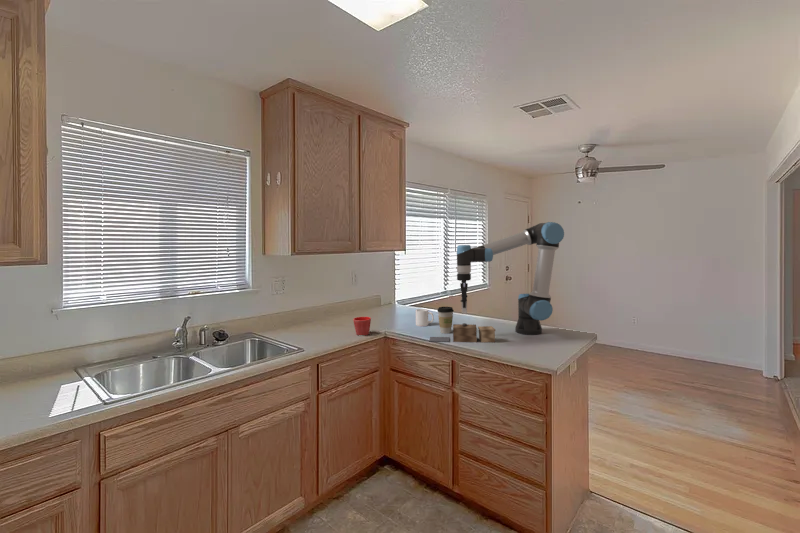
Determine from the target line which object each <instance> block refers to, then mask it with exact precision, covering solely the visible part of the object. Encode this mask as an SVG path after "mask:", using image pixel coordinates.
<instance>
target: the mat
mask: <svg viewBox="0 0 800 533" xmlns="http://www.w3.org/2000/svg"><path fill="white" fill-rule="evenodd" d="M428 342H429V343H431V342H432V343H436V342H437V343H450V336H430V337H429V341H428Z"/></svg>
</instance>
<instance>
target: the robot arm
mask: <svg viewBox="0 0 800 533" xmlns="http://www.w3.org/2000/svg"><path fill="white" fill-rule="evenodd" d="M564 237H565V230H564V228H563V226H562V225H561V224H560V223H558V222H553V221H548V222H541V223H537V224H535V225H533V226H531V227H529V228H525V229H523V230H522V231H521V232H519V233H515V234H513V235H509V236H507V237H504V238H500V239H497V240H494V241H491V242H488V243H485V244H483V245H480V246H474V247H471V245H470V244H460V245H457V247H456V267H455V270H456V272H457V274H456V280H457V281H459V282H460V281H461V283H460V284H459V287H460V291H461V299H460V302H461V314H464V315H467V314H468V295H467V294H468V286H469V285H468V283H467V281H471V280H472V274H471V272H472V264H471V263H489V262H493V259H494V255H498V254H502V253H504V252H508V251H511V250H513V249H517V248H520V247H522V246H526V245H528V246H532V245H536V247H537V249H538V251H537V257H536V258H537V259H536V265H535V272H534V277H533V283H532V284H533V286H532V291H531V292H529V293H519V294H518V298H517V303H518V304H517V305H518V308H517V310H518V314H517V315H518V319H517V321H516V325H515V326H514V327H515V333H518V334H521V335H528V336H529V335H531V336H534V335H541V334H542V333H543V327H542V324H541V322H542V321H546V320H547V319H549V318H550V317H551V316H552V314H553V312H554V310H553V308H554V307H553V306H552V304H551V299H552V296H551V295H550V287H551V279H552V272H553V266H554V261H555V254H556V251H557V250H558V249H559V248H560V247H559V246H560V243H561V242H562V241H563V239H564ZM540 321H541V322H540Z"/></svg>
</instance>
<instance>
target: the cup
mask: <svg viewBox="0 0 800 533" xmlns="http://www.w3.org/2000/svg"><path fill="white" fill-rule="evenodd" d="M429 315H431V320H429ZM434 320H435V319H434V313H433V312H431V311H429V309H428V308H418V309H417V308H416V309H415V326H417V327H420V328H421V327H423V328H424V327H428V326H429V324H431V323H433V322H434Z"/></svg>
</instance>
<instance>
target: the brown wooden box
mask: <svg viewBox="0 0 800 533" xmlns="http://www.w3.org/2000/svg"><path fill="white" fill-rule="evenodd" d="M477 328H478V327H477V325H476V324H467V323H462V324H453V323H452V334H453V336H452V337H453V338H452V340H453V343H454V342H455V343H477V340H478V339H477V335H478V334H477Z"/></svg>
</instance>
